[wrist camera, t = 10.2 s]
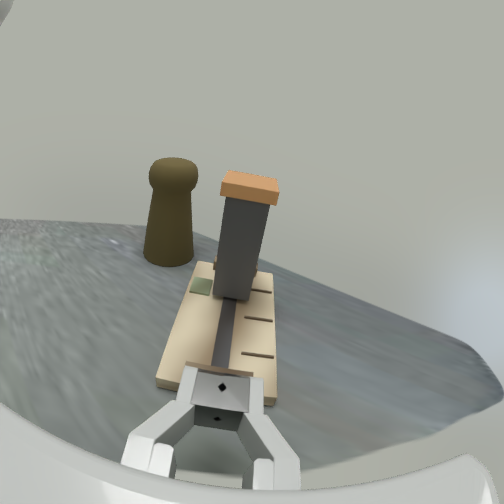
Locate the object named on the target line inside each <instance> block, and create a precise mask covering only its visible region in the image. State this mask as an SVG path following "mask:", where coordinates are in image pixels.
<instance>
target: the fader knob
mask: <svg viewBox="0 0 504 504" xmlns="http://www.w3.org/2000/svg"><path fill="white" fill-rule="evenodd" d="M220 195H221V196H226V200H225V206H224V213H223V219H222V226H221V233H220V240H219V247H218V254H217V261H216V268H215V276H214V284H213V292H212V295H217V296H222V297H228V298H234V299H240V300H246V301H249V297H250V292H251V288H252V284H253V279H254V275H255V270H256V266H257V261H258V257H259V252H260V248H261V244H262V239H263V235H264V230H265V226H266V221H267V216H268V212H269V207H270V205H275V206H276V204H277V200H278V196H279V189H278V184H277V179H274V178H269V177H264V176H259V175H253V174H248V173H242V172H237V171H231V170H229V171H228V172H227V174H226V176H225V177H224V179H223V181H222V185H221V192H220Z"/></svg>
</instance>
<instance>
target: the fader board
mask: <svg viewBox="0 0 504 504" xmlns="http://www.w3.org/2000/svg"><path fill="white" fill-rule="evenodd" d="M216 261H217V256H215V259H214V263H208V262H203V261H198V262H197V264H196V267H195V269H194V272H193V274H192V277H191V280H190V282H189V285H188V287H187V290H186V293H185V295H184V298H183V301H182V303H181V306H180V309H179V312H178V314H177V317H176V320H175V323H174V325H173V328H172V331H171V334H170V337H169V339H168V342H167V345H166V348H165V351H164V354H163V357H162V360H161V363H160V366H159V369H158V372H157V375H156V383H157V387H160V388H164V389H169V390H173V391H177V392H178V389H179V385H180V381H181V377H182V373H183V369H184V367H185V365H186V366H190V367H196V368H200V369H205V370H210V371H215V372H221V373H229V374H237V375H244V376H249V377H258V378H263V380H264V405H268V406H273V405H274V403H275V401H276V399H277V371H276V341H275V316H274V293H273V274H271V273H265V272H259V271H257V268H258V263H257V266H256V270H255V275H254V279H253V284H252V288H251V292H250V297H249V301H246V300H240V299H234V298H228V297H222V296H217V295H212V292H213V284H214V276H215V268H216Z"/></svg>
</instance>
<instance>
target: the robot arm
mask: <svg viewBox="0 0 504 504" xmlns="http://www.w3.org/2000/svg"><path fill="white" fill-rule="evenodd" d="M13 1H14V0H0V26H1V24H2V22H3V20H4V19H5V17H6V16H7V14H8V13H9V11H10V9H11V7H12V4H13ZM194 425H197V426H204V427H211V428H217V429H223V430H229V431H236V432H237V434H238V436H239V438H240V440H241V442H242V443H243V445H244V447H245V449H246V451H247V452H248V454H249V456H250V458H251V459H252V461H253V464H252V465H251V466H250V467H249V469H248V470H247V471H246V472H245V474H244V475H243V482H242V489H239V488H228V487H220V486H212V485H205V484H198V483H193V482H188V481H182V480H178V479H174V477H175V472H176V460H175V455H174V449H173V448H172V447H173V446H174V445H175V444H176V443H177V442H178V441H179V440H180V439H182V438H183V437H184V436H185V434H186V433H187V432H188V431H189V430H190V429H191V428H192V427H193V426H194ZM0 504H499V500H498V496H497V492H496V489H495V485H494V482H493V479H492V477H491V474H490V472H489V470H488V469H487V468H486V466H485V465H484V464H482V463H481V462H480V461H479V460H477V459H476V458H475V457H473V456H472V455H470V454H467V453H465V454H461V455H459V456H456V457H454V458H452V459H449V460H447V461H444V462H441V463H438V464H436V465H432V466H429V467H426V468H423V469H420V470H417V471H413V472H410V473H406V474H403V475H399V476H395V477H391V478H386V479H382V480H377V481H372V482H367V483H361V484H355V485H348V486H341V487H333V488H321V489H307V490H301V479H300V459H299V458H298V456H297V455H296V454H295V452H294V451H293V450H292V448H291V447H290V446H289V444H288V443H287V442H286V440H285V439H284V438H283V436H282V435H281V434H280V432H279V431H278V429H277V428H276V427H275V425H274V424H273V422H272V421H271V420H270V418H269V417H268V415H264V380H263V378H258V377H249V376H244V375H237V374H229V373H221V372H215V371H210V370H205V369H200V368H196V367H190V366H186V365H185V367H184V369H183V373H182V377H181V381H180V385H179V389H178V393H177V397H176V401H174V400H171V401H170V402H169V403H167V404H166V405H165V406H164V407H162V408H161V409H160V410H159V411H157V412H156V413H155V414H154V415H152V416H151V417H150V418H149V419H147V420H146V421H145V422H144V423H142V424H141V425H140V426H138V427H137V428H136V429H134V430H133V431H132V432H130V433H129V437H128V440H127V443H126V446H125V450H124V453H123V457H122V460H121V463H117V462H114V461H111V460H109V459H106V458H103V457H101V456H98V455H96V454H93V453H91V452H88V451H86V450H84V449H82V448H79V447H77V446H75V445H73V444H71V443H69V442H66V441H64V440H62V439H60V438H58V437H57V436H55V435H53V434H51V433H49V432H47V431H45V430H44V429H42V428H40V427H38V426H37V425H35V424H33V423H31V422H30V421H28V420H27V419H25V418H23V417H22V416H20V415H19V414H17V413H16V412H14V411H13V410H11V409H10V408H8V407H7V406H5V405H4V404H3V403H1V402H0Z"/></svg>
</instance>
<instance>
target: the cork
mask: <svg viewBox="0 0 504 504" xmlns="http://www.w3.org/2000/svg"><path fill="white" fill-rule="evenodd" d="M197 181H198V169H197V167H196V165H195V164H194V163H193V162H191V161H189V160H186V159H182V158H163V159H159V160H157V161H155V162H154V163H153V165H152V166H151V168H150V171H149V182H150V185H151V186H152V188H153V194H152V200H151V205H150V211H149V217H148V223H147V229H146V236H145V244H144V251H143V254H144V257H145V258H146V259H147V260H148V261H149V262H151V263H153V264H155V265H159V266H165V267H174V266H180V265H183V264H186V263H188V262H189V261H191V260H192V258H193V256H194V253H193V234H192V210H191V191H192V190H193V189H194V188H195V186H196V183H197Z"/></svg>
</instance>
